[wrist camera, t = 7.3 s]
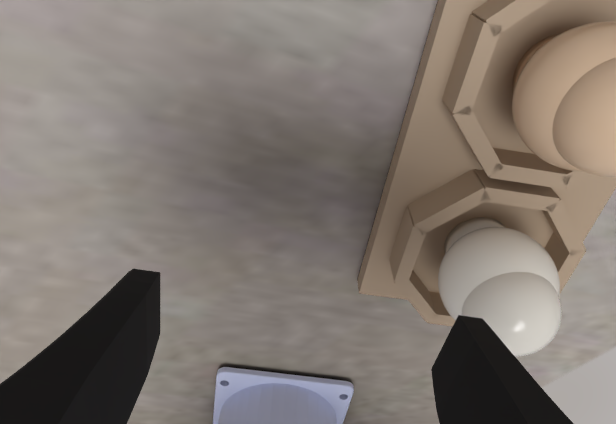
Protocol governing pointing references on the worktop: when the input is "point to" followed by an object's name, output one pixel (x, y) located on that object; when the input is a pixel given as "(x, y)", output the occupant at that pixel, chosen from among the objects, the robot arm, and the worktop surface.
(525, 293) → the cream egg
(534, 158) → the egg tray
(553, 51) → the brown egg
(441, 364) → the robot arm
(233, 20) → the worktop surface
